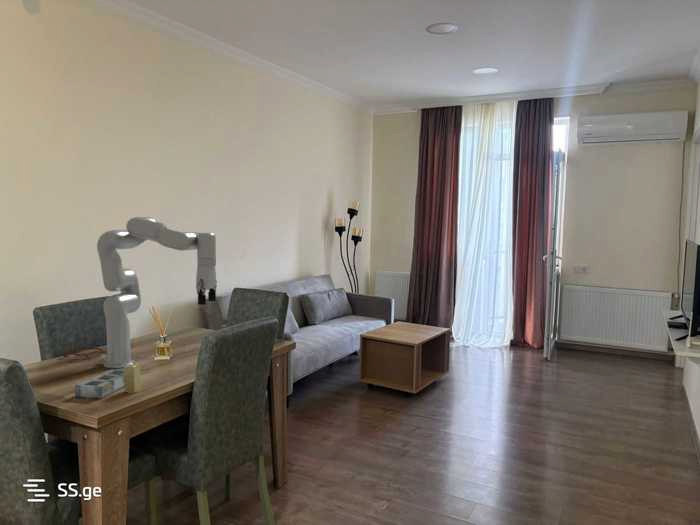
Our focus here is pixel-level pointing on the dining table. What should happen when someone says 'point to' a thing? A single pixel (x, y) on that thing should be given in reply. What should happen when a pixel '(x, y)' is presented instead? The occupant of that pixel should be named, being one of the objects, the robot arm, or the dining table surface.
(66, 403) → the dining table surface
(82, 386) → the grey compartment tray
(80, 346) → the glasses
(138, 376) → the peg
